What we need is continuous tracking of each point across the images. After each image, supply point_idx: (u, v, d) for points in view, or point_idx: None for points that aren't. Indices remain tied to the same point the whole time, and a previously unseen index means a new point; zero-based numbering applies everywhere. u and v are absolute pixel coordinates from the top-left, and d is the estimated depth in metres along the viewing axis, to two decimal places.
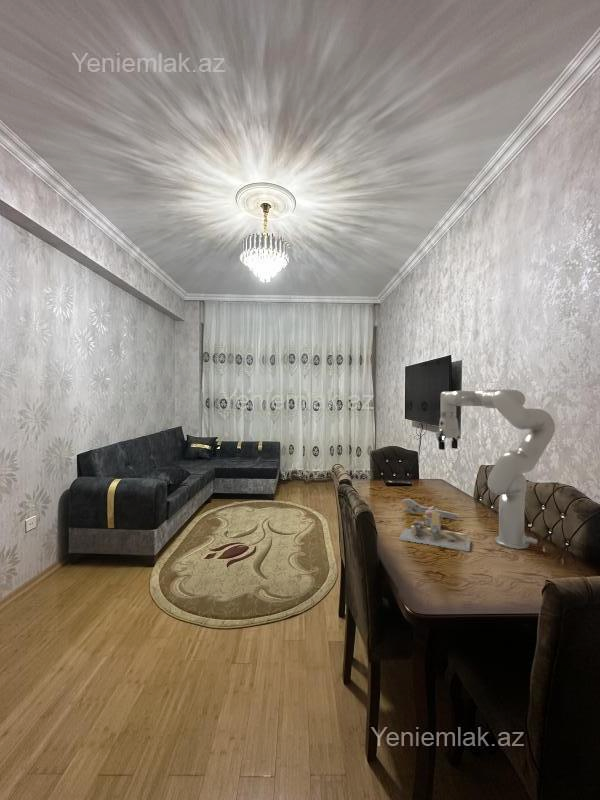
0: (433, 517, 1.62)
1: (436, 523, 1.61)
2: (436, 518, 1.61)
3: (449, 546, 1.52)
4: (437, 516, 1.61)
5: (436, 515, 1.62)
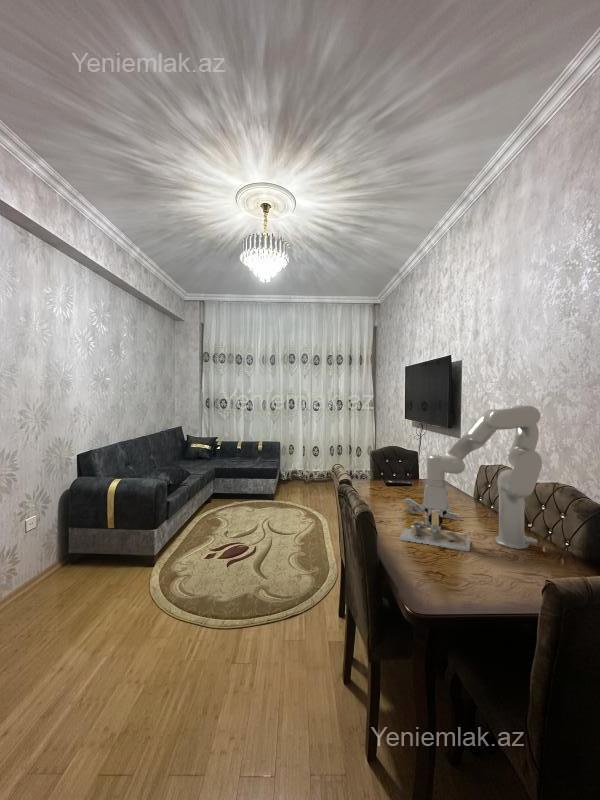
0: (433, 517, 1.62)
1: (436, 523, 1.61)
2: (436, 518, 1.61)
3: (449, 546, 1.52)
4: (437, 516, 1.61)
5: (436, 515, 1.62)
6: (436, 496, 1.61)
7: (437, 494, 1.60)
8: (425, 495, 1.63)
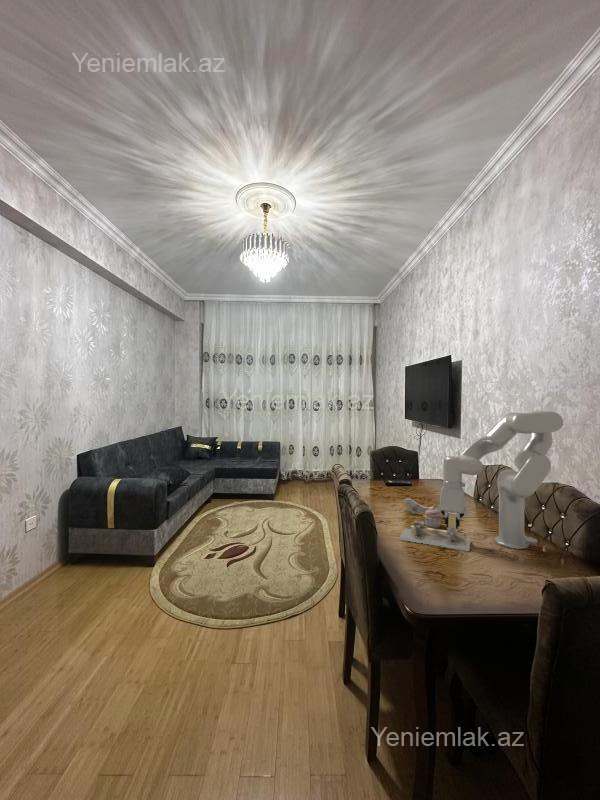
0: (450, 519, 1.59)
1: (453, 525, 1.58)
2: (453, 520, 1.58)
3: (449, 546, 1.52)
4: (454, 518, 1.58)
5: (453, 517, 1.58)
6: (453, 498, 1.58)
7: (454, 496, 1.57)
8: (442, 497, 1.60)
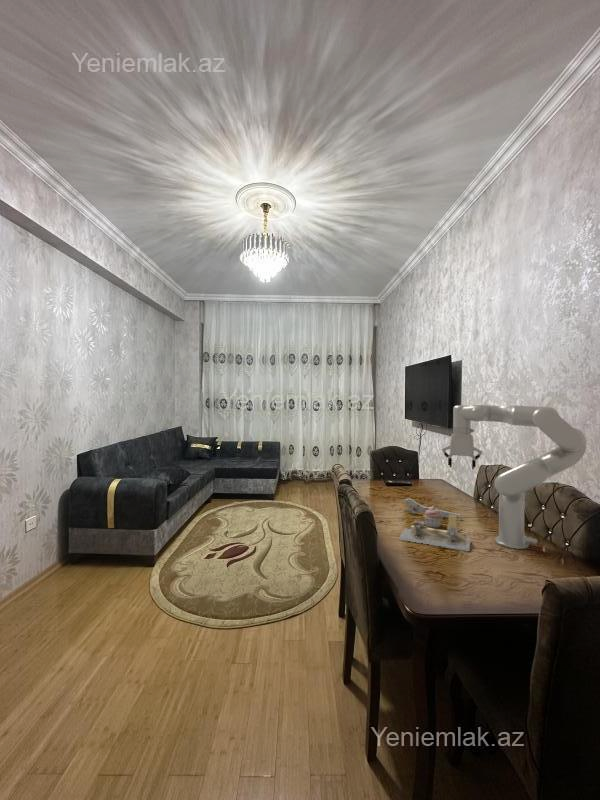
0: (450, 519, 1.59)
1: (453, 525, 1.58)
2: (453, 520, 1.58)
3: (449, 546, 1.52)
4: (454, 518, 1.58)
5: (453, 517, 1.58)
6: (463, 443, 1.69)
7: (463, 441, 1.69)
8: (452, 443, 1.71)
